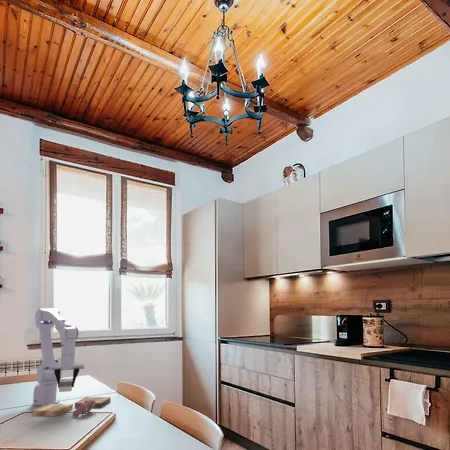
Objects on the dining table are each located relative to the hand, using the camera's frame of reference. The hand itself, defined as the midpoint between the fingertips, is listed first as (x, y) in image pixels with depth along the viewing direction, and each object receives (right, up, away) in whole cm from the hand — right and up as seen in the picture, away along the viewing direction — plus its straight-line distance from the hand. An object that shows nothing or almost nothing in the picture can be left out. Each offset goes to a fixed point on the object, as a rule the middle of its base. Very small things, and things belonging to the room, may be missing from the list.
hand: (66, 387), depth 182 cm
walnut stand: (+9, -11, +7) cm, 16 cm away
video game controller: (+11, -8, -9) cm, 17 cm away
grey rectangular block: (0, -1, 0) cm, 1 cm away
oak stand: (-4, -9, -5) cm, 11 cm away
